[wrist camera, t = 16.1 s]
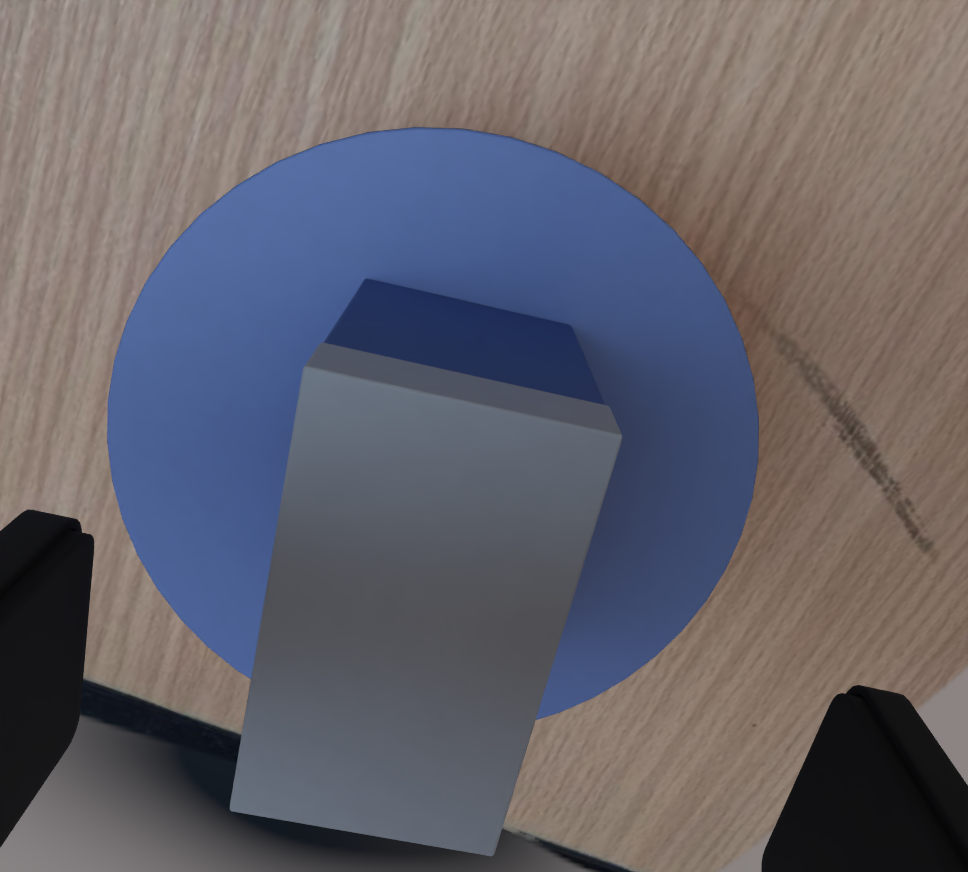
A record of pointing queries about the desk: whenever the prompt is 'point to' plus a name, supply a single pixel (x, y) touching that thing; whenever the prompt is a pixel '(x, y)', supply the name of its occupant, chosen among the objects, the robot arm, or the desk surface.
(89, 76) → the desk surface
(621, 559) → the blue round puck
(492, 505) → the grey and blue block
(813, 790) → the robot arm
